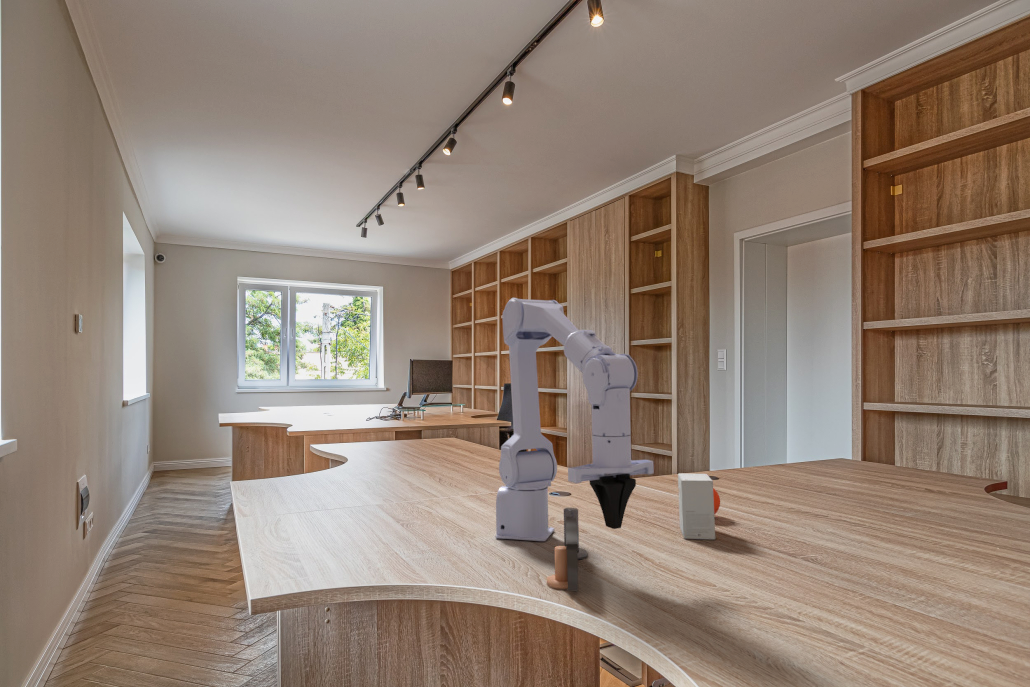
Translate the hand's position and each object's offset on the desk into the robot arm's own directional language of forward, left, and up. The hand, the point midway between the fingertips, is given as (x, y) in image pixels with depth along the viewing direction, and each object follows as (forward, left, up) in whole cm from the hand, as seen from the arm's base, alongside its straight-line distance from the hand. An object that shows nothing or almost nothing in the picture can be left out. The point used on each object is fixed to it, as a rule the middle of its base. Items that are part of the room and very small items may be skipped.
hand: (613, 526), depth 85 cm
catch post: (-7, -5, -7) cm, 11 cm away
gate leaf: (-6, -1, -7) cm, 9 cm away
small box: (+12, +26, -7) cm, 30 cm away
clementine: (+13, +39, -7) cm, 42 cm away
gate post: (-8, +8, -7) cm, 13 cm away
